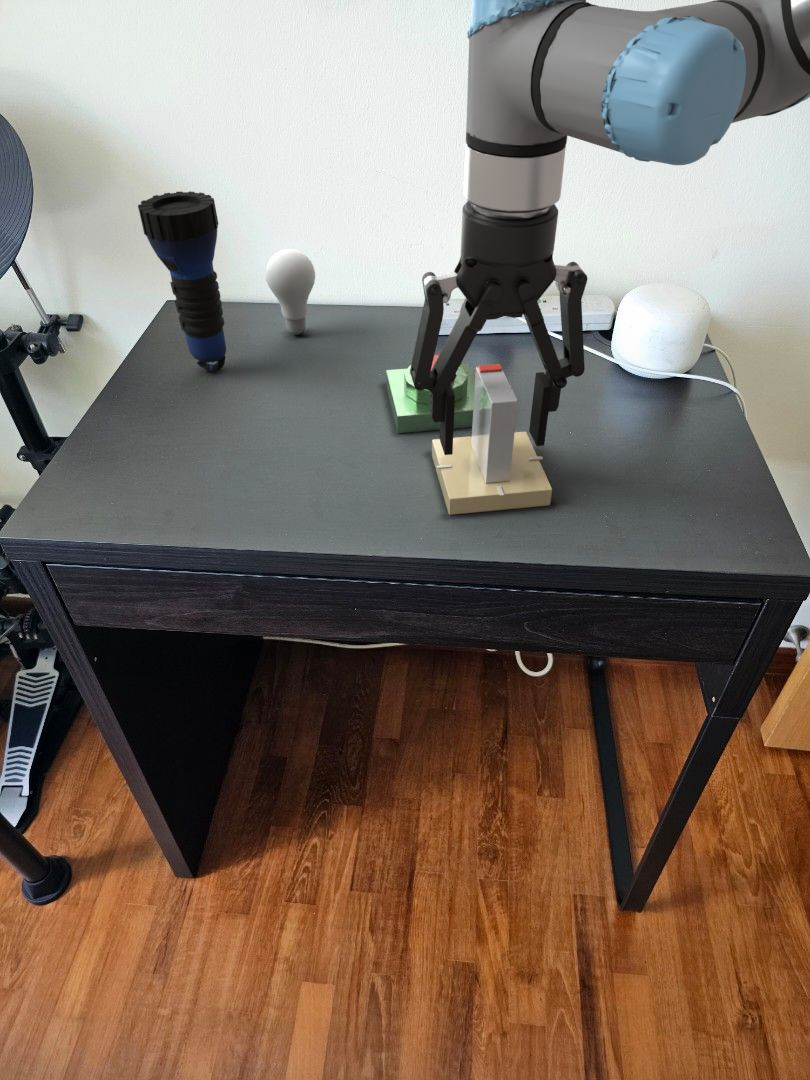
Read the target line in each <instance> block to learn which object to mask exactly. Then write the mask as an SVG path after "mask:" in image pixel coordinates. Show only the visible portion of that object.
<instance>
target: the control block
mask: <svg viewBox="0 0 810 1080" xmlns="http://www.w3.org/2000/svg"><path fill="white" fill-rule="evenodd" d="M410 369H411V364H410V365H408V367H407V368H398V369H386V370H385V383H386V384H385V385H386V390H387V395H388V399H389V403H390V407H391V412H392V416H393V420H394V424H395V428H396V432H397V434H407V433H418V432H429V431H430V432H431V431H440V422H435V423H434V421H433V418H432V415H431V412H430V391H429V390H427V389H424V390H417V389H416V388H415V386H414V383H413V380H412V377H411V374H410ZM450 384H451V386H452V389H453V391H454V394H455V407H454V430H455V429H465V428H472V424H473V408H474V391H475V373H474V370H473V367H472V365H471V363H463V364H462V363H461V364H460V366H459V368H458V370H457V372H456V374H455V376H454V379H453V381H452V382H451V383H450Z"/></svg>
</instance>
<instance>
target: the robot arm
mask: <svg viewBox="0 0 810 1080" xmlns="http://www.w3.org/2000/svg"><path fill="white" fill-rule="evenodd" d="M466 35H467V39H468V65H467V92H466V93H467V95H466V96H467V97H466V121H465V122H466V124H465V155H464V173H463V174H464V175H463V188H462V190H463V192H462V193H463V197H464V198H465V199H466V202H465V203H464V204H463V206H462V213H461V214H462V216H461V237H460V242H461V243H460V257H459V260H458V263H457V265H456V266H455V268H454V270H453V271H452V272H447V273H443V274H438V275H436V274H435V273H434V272H432V271H426V272H425V273H424V274H423V275H422V277H421V282H422V289H423V295H424V302H423V306H422V311H421V316H420V320H419V326H418V331H417V336H416V341H415V345H414V350H413V354H412V359H411V364H410V365H411V369H410V374H411V377H412V380H413V383H414V386H415V388H416V389H417V390H424V389H427V390H429V391H430V412H431V415H432V418H433V421H434V423H435V422H440V430H439V439H440V442H441V445H442V448H443V451H444V454H445V455H452V454H453V438H454V430H455V429H454V407H455V394H454V391H453V389H452V386H451V384H450V383H451V382H452V380H453V378H454V376H455V374H456V372H457V370H458V368H459V366H460V365H461V364H462V362H463V361H464V360H465V357H466V355H467V353H468V352H469V349H470V348H471V345H472V344H473V342H474V339H475V338H476V336H477V334H478V333H479V332H481V331H482V329H483V328H484V326H485V324H486V322H487V321H490V320H491V321H492V320H497V319H501V318H503V317H504V318H505V317H508V318H513V319H517V318H518V319H519V318H523V317H524V320H525V322H526V325H527V327H528V330H529V333H530V335H531V338H532V339H533V342H534V345H535V348H536V350H537V353H538V355H539V358H540V361H541V363H542V366H543V369H544V371H545V372H544V371H540V372H539V371H538V372H535V378H534V385H533V394H532V402H531V411H530V418H529V429H528V432H529V434H530V436H531V438H532V440H533V442H534V444H535V447H545V441H546V434H547V427H548V419H549V413H553V412H557V410H558V408H559V406H560V399H561V398H560V397H561V392H562V389H564V388H566V386H567V385H568V380H567V379H568V378H569V377H573V376H574V377H576V378H577V377H578V378H579V377H581V376H582V375H583V374H584V373H585V370H586V369H585V350H584V349H585V348H584V347H585V346H584V326H583V324H584V323H583V305H582V300H583V296H584V293H585V289H586V287H587V283H588V275H587V274H586V272H585V271H584V270H583V269H582V268H581V266H580V265H579V264H578V263H577V262H576V261H570V262H569V263H567V264H566V265H560V264H555V262H554V257H553V256H554V251H555V242H556V236H557V234H556V233H557V227H558V218H559V209H558V207H557V206H556V204H557V203H558V202H559V201H560V198H562V197H561V196H562V187H563V177H564V166H565V159H566V150H567V149H566V147H567V142H568V137H570V138H573V139H577V140H580V141H583V142H586V143H589V144H593V145H596V146H599V147H602V148H604V149H605V148H606V149H609V150H611V151H614V152H618V153H621V154H623V155H624V156H625V157H628V158H634V159H635V161H639V162H647V163H649V162H655V163H661V164H667V165H671V166H686V165H691V164H693V163H695V162H698V161H700V160H701V159H703V158H704V157H705V156H706V155H707V154H708V152H709V151H710V148H711V147H712V146H713V145H716V144H718V143H719V142H720V141H721V140H722V139H723V138H724V137H725V135H726V133H727V132H728V130H729V128H730V127H731V125H732V124H734V123H738V122H742V121H746V120H749V119H753V118H757V117H768V116H773V115H775V114H778V113H781V112H784V111H786V110H788V109H790V108H793V107H795V106H797V105H798V104H800V103H802V102H804V101H806V100H808V99H810V0H712V1H707V2H702V3H696V4H695V3H694V4H688V5H682V6H681V5H680V6H675V7H670V8H664V9H658V10H657V9H656V10H632V9H626V8H625V9H624V8H616V7H608V6H602V5H601V6H600V5H597V4H592V3H590V2H588V1H587V0H471V9H470V17H469V27H468V30H467V33H466ZM554 282H555V287H556V290H558V292H559V308H560V322H561V323H560V325H561V338H562V339H561V340H562V355H563V358H560V359H559V358H558V355H557V353H556V350H555V347H554V344H553V341H552V340H551V336H550V333H549V330H548V328H547V325H546V322H545V317H544V315H543V313H542V310H541V308H540V305H539V302H538V301H539V300H540V299H541V298H542V296H543V295H544V294H545V293H546V292H547V290H549V288H550V286H552V284H553V283H554ZM455 289H459V291H460V292H461V293H462V295H463V296H464V301H463V302H462V304H461V307H460V309H459V314H458V317H457V319H456V321H455V323H454V325H453V327H452V329H451V330H450V333H449V335H448V337H447V339H446V341H445V342H444V344H443V347H442V349H441V351H440V353H439V354H438V355H439V357H438V359H437V361H436V363H435V365H434V367H433V369H432V371H431V367H432V363H433V358H434V355H436V354H435V353H436V349H437V344H438V341H439V336H440V331H441V328H442V327H441V326H442V322H443V320H444V319H443V318H444V310H445V309H444V307H445V306H444V304H447V303H449V301H450V299H451V297H452V293H453V292H454V290H455Z"/></svg>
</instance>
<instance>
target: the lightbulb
mask: <svg viewBox="0 0 810 1080" xmlns="http://www.w3.org/2000/svg"><path fill="white" fill-rule="evenodd" d="M265 280H266V283H267V285H268V287H269V289H270V290H271V292H272V293H273V295H274V297H275V298H276V300H277V302H278V303H279V306H280V309H281V314H282V317H283V318H284V323H285V328H286V329H285V330H286V331H287V332H288V333H290V334H293V335H294V336H296V335H297V336H298V335H300V334H301V333H303V332H305V330H306V329H307V328H306V327H307V326H306V315H307V312H308V311H307V310H308V309H307V308H308V300H309V297H310V294H311V292H312V290H313V288H314V285H315V282H316V270H315V267H314V264H313V262H312V261H311V259H310V258H309V257H308V255H306V254H305V253H304V252H302V251H300V250H298V249H293V248H286V249H285V248H284V249H281V250H278V251H277V252H275V253H274V254H273V255H272V256H271V257H270V259H269V260H268V262H267V263H266V268H265Z"/></svg>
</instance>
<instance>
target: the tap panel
mask: <svg viewBox="0 0 810 1080" xmlns="http://www.w3.org/2000/svg"><path fill="white" fill-rule="evenodd" d="M471 441H472V435H471V436H469V435H468V436H461V437H460V436H456V437H453V454H452V455H445V454H444V451H443V448H442V445H441V442H440V438H435V439H434V438H433V439H431V457H432V460H433V461H432V462H433V464H434V468H435V472H436V475H437V478H438V481H439V485H440V489H441V492H442V495H443V499H444V503H445V506H446V510H447V513H448V515H449V516H452V515H462V514H472V513H473V514H474V513H483V512H484V513H485V512H493V511H494V512H495V511H504V510H516V509H526V508H535V507H546V506H551V501H552V495H553V488H552V486H551V483H550V481H549V479H548V477H547V475H546V472H545V470H544V468H543V466H542V463H541V462H540V460H542V461H543V459H544V458H543V456H542V455H540V456H538V455H537V453H536V450H535V449H534V446H533V444H532V442H531V439H530V438H529V435H528V433H527V431H515V433H514V443H513V453H512V463H511V472H510V481H504V482H494V483H485V480H484V477H483V475H482V472H481V470H480V467H479V464H478V462H477V459H476V456H475V454H474V451H473V448H472V446H471Z"/></svg>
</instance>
